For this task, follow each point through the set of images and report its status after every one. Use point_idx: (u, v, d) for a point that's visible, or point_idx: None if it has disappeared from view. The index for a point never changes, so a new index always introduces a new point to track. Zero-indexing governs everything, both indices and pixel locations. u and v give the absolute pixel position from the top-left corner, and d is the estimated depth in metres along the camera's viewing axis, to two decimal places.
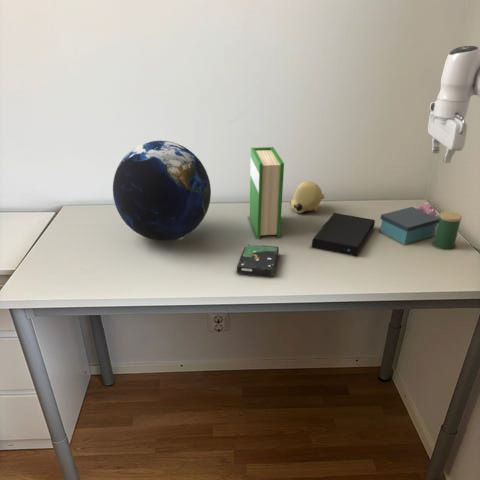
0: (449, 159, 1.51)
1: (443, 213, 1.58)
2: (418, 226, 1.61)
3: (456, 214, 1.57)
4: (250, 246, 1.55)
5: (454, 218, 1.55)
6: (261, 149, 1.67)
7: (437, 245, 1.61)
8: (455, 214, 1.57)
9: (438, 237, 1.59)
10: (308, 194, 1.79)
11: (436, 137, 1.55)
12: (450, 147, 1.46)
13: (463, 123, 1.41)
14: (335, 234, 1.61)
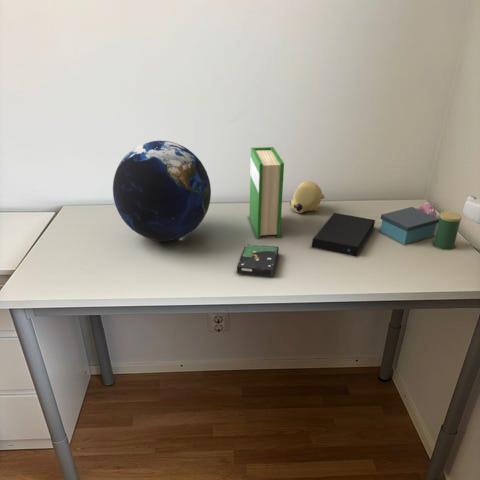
0: None
1: (443, 213, 1.58)
2: (418, 226, 1.61)
3: (456, 214, 1.57)
4: (250, 246, 1.55)
5: (454, 218, 1.55)
6: (261, 149, 1.67)
7: (437, 245, 1.61)
8: (455, 214, 1.57)
9: (438, 237, 1.59)
10: (308, 194, 1.79)
11: None
12: None
13: None
14: (335, 234, 1.61)
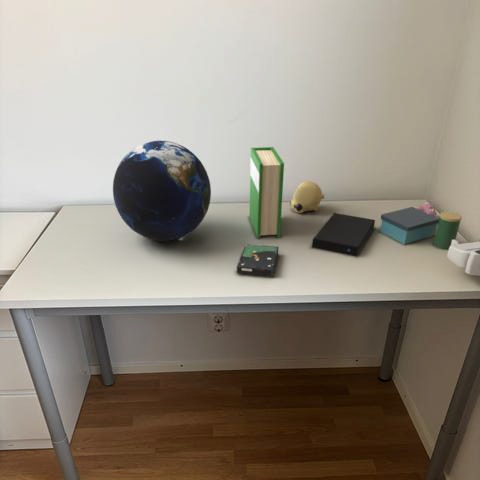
0: None
1: (443, 213, 1.58)
2: (418, 226, 1.61)
3: (456, 214, 1.57)
4: (250, 246, 1.55)
5: (454, 218, 1.55)
6: (261, 149, 1.67)
7: (437, 245, 1.61)
8: (455, 214, 1.57)
9: (438, 237, 1.59)
10: (308, 194, 1.79)
11: None
12: None
13: None
14: (335, 234, 1.61)
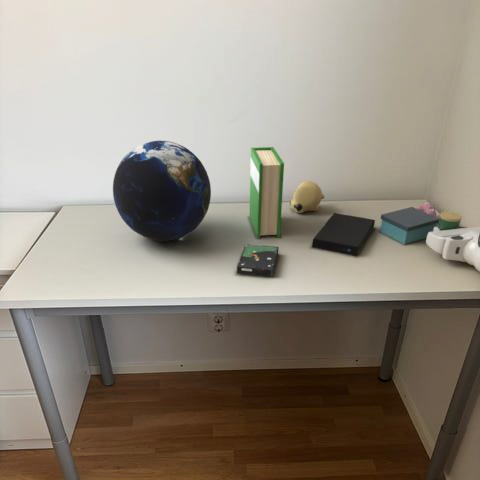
0: None
1: (443, 213, 1.58)
2: (418, 226, 1.61)
3: (456, 214, 1.57)
4: (250, 246, 1.55)
5: (454, 218, 1.55)
6: (261, 149, 1.67)
7: None
8: (455, 214, 1.57)
9: None
10: (308, 194, 1.79)
11: None
12: None
13: None
14: (335, 234, 1.61)
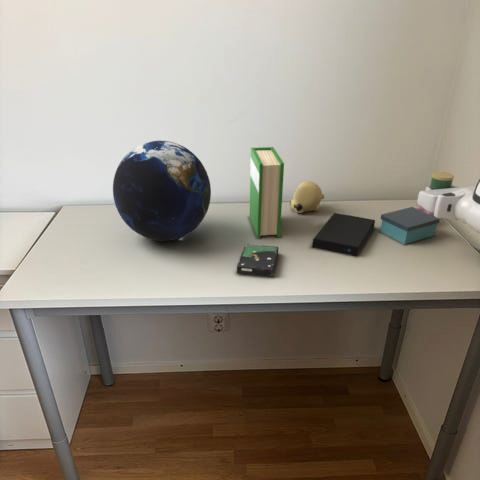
0: None
1: (435, 173, 1.54)
2: (418, 226, 1.61)
3: (448, 174, 1.54)
4: (250, 246, 1.55)
5: (446, 177, 1.51)
6: (261, 149, 1.67)
7: None
8: (447, 174, 1.54)
9: None
10: (308, 194, 1.79)
11: None
12: None
13: None
14: (336, 234, 1.61)
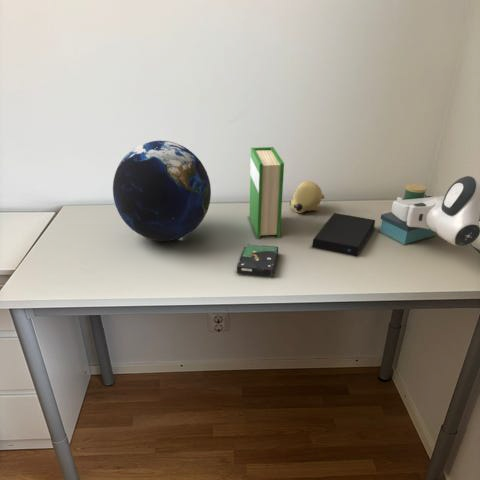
0: None
1: (409, 185, 1.62)
2: None
3: (421, 186, 1.61)
4: (250, 245, 1.55)
5: (419, 189, 1.58)
6: (261, 149, 1.67)
7: None
8: (420, 186, 1.61)
9: None
10: (308, 194, 1.79)
11: None
12: None
13: None
14: (336, 234, 1.61)
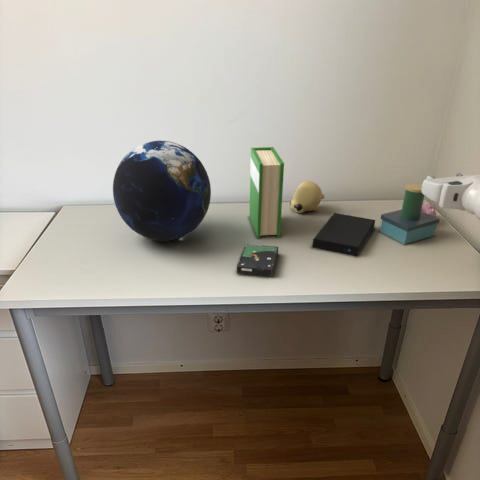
0: None
1: (409, 185, 1.62)
2: (418, 226, 1.61)
3: (421, 186, 1.61)
4: (250, 245, 1.55)
5: (419, 189, 1.58)
6: (261, 149, 1.67)
7: (403, 217, 1.64)
8: (420, 186, 1.61)
9: (404, 208, 1.63)
10: (308, 194, 1.79)
11: None
12: None
13: None
14: (336, 234, 1.61)
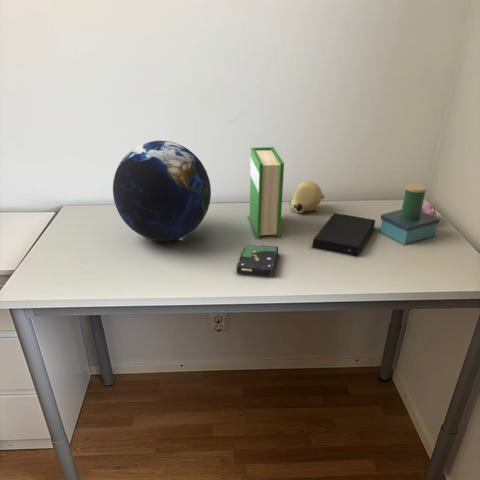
0: None
1: (409, 185, 1.62)
2: (418, 226, 1.61)
3: (421, 186, 1.61)
4: (249, 245, 1.55)
5: (419, 189, 1.58)
6: (261, 149, 1.67)
7: (403, 217, 1.64)
8: (420, 186, 1.61)
9: (404, 208, 1.63)
10: (308, 194, 1.79)
11: None
12: None
13: None
14: (336, 234, 1.61)
